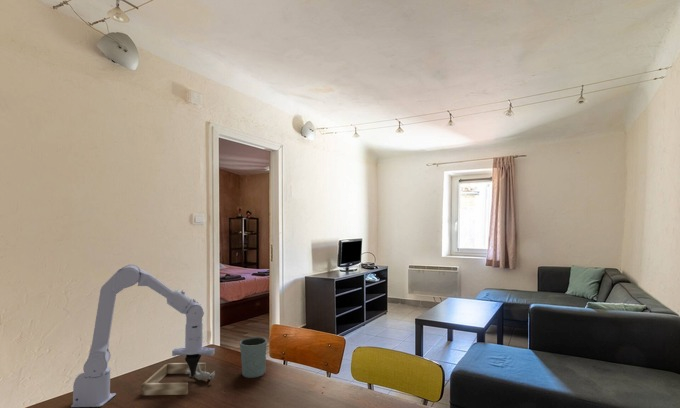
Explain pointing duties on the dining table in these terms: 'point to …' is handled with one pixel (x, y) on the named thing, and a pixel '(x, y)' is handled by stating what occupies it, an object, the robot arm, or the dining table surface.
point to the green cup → (253, 356)
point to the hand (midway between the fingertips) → (193, 375)
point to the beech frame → (157, 388)
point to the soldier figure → (202, 374)
